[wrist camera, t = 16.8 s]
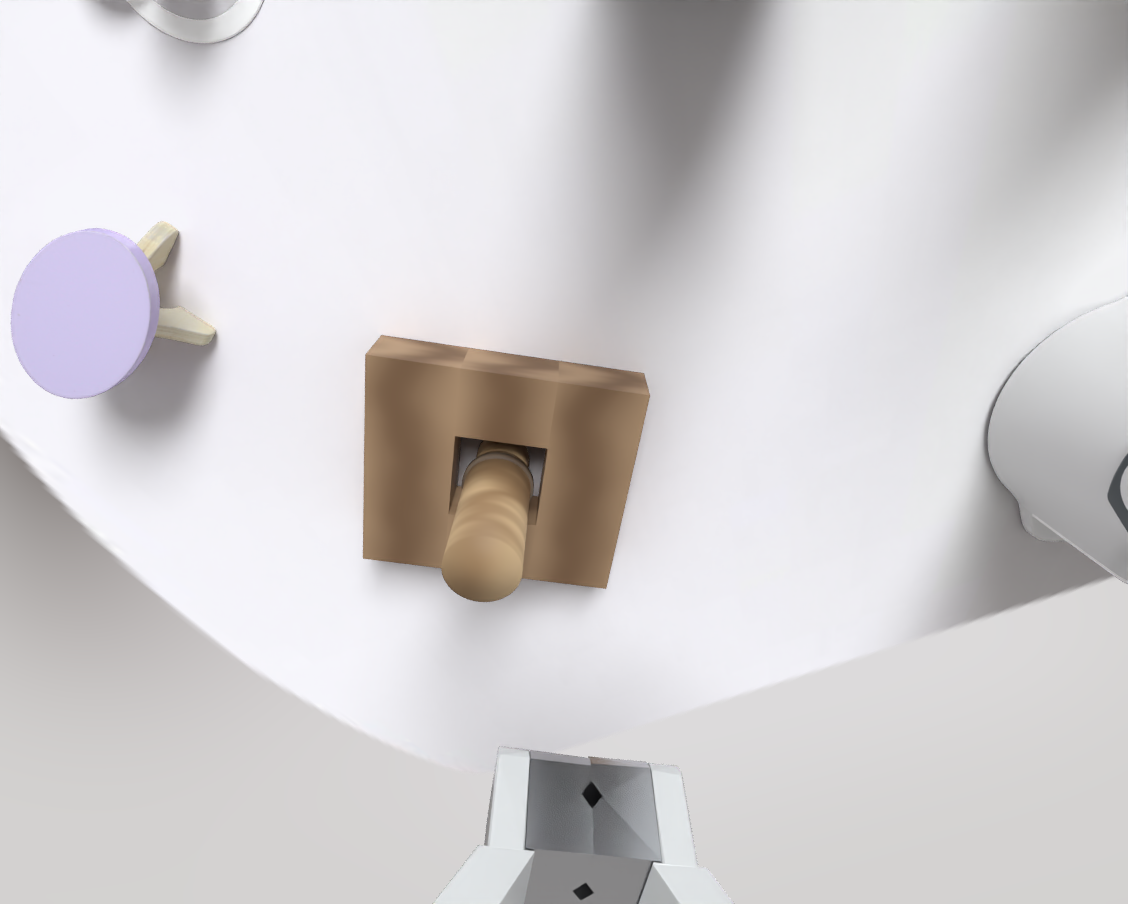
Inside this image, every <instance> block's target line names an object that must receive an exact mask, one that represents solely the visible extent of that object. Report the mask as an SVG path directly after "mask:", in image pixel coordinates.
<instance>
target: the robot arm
mask: <svg viewBox="0 0 1128 904" xmlns="http://www.w3.org/2000/svg"><path fill="white" fill-rule="evenodd" d="M988 451H989V457H990V461H991V464H992V467H993V469H994V471H995V473H996V475H997V477H998V478H999V480H1000V481H1001V482H1002V483H1003V485H1004V486H1005V487H1006V488H1007V489H1008V490H1009V491H1010V492H1011V493H1012V494H1013V495H1014V497H1015V498H1016V499H1017V501H1018V503H1019V509H1020V515H1021V520H1022V524H1023V526H1024V528H1025V530H1026V531H1027V532H1028V533H1029V534H1031V535H1032V536H1034V537H1035V538H1037V539H1038V540H1041V541H1067V542H1068V543H1069V544H1071V545H1072V546H1074V547H1075V548H1076V549H1078V550H1079V551H1080V552H1082V553H1083V554H1084V555H1086V556H1087V557H1089V558H1090V559H1091V560H1093V561H1094V562H1095V563H1097V564H1098V565H1100V566H1101V567H1102V568H1104V569H1105V570H1107V571H1108V572H1109V573H1111V574H1112V575H1114V576H1115V577H1116V578H1118V579H1119V580H1121V581H1122V582H1124V583H1127V584H1128V296H1126V297H1124V298H1122V299H1119V300H1117V301H1114V302H1112V303H1109V304H1107V305H1104V306H1102V307H1099V308H1097V309H1094V310H1092V311H1090V312H1088V313H1085V314H1083V315H1082V316H1080V317H1078V318H1076V319H1074V320H1072V321H1071V322H1069V323H1067V324H1066V325H1064V326H1063V327H1061V328H1060V329H1058V330H1057V331H1055V332H1054V333H1053V334H1051V335H1050V336H1049V337H1047V338H1046V339H1045V340H1044V341H1043V342H1041V343H1040V344H1039V345H1038V346H1037V347H1036V348H1035V349H1034V350H1033V351H1032V352H1031V353H1030V354H1029V355H1028V356H1027V357H1026V358H1025V359H1024V360H1023V361H1022V362H1021V364H1020V365H1019V366H1018V367H1017V368H1016V370H1015V371H1014V372H1013V374H1012V375H1011V377H1010V378H1009V379H1008V381H1007V383H1006V384H1005V386H1004V388H1003V389H1002V391H1001V393H1000V395H999V397H998V399H997V402H996V404H995V407H994V409H993V412H992V416H991V419H990V424H989V430H988ZM433 904H734V903H733V901H732V900H731V899H730V898H729V896H728V895H727V893H726V892H725V891H724V889H723V888H722V887H721V886H720V884H719V883H718V881H717V880H716V879H715V878H714V876H713V875H712V873H711V872H710V871H709V869H707V868H704V867H698V863H697V857H696V852H695V846H694V840H693V835H692V828H691V823H690V818H689V812H688V806H687V800H686V795H685V789H684V783H683V777H682V772H681V771H680V769H679V767H678V766H674V765H663V764H653V763H646V762H642V761H631V760H620V759H609V758H598V757H588V758H585V757H578V756H570V755H563V754H556V753H548V752H541V751H534V750H530V751H529V750H526V749H518V748H509V747H500V746H499V748H498V753H497V759H496V766H495V772H494V778H493V784H492V791H491V797H490V804H489V811H488V818H487V825H486V834H485V843H484V846H482V845H478V846H477V847H476V849H475V850H474V852H473V853H472V854H471V855H470V856H469V858H468V859H467V860H466V862H465V863H464V864H463V865H462V867H461V868H460V869H459V870H458V872H457V873H456V874H455V876H454V877H453V878H452V879H451V881H450V882H449V883H448V885H447V886H446V887H445V888H444V890H443V891H442V892H441V894H440V895H439V896H438V897H437V899H436V900H435V901H434V903H433Z"/></svg>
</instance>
